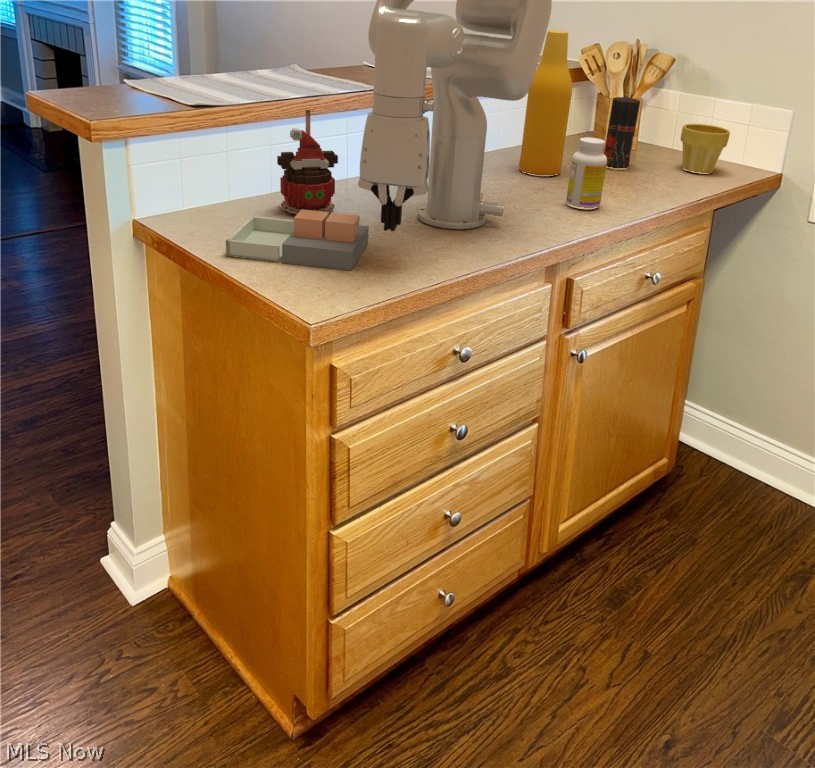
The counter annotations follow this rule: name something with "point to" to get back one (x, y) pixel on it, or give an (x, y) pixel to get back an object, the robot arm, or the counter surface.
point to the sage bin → (260, 238)
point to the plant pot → (702, 146)
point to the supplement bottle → (587, 174)
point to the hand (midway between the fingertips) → (390, 228)
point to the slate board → (324, 251)
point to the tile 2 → (342, 227)
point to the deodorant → (621, 131)
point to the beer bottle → (547, 109)
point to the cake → (307, 174)
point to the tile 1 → (310, 224)
